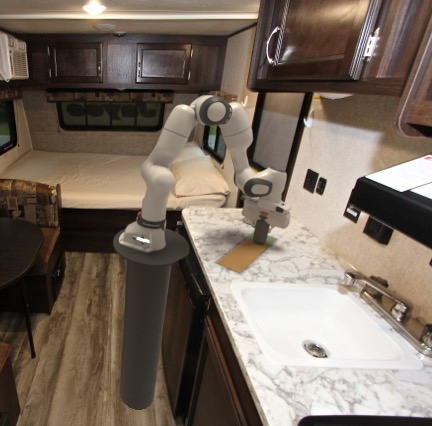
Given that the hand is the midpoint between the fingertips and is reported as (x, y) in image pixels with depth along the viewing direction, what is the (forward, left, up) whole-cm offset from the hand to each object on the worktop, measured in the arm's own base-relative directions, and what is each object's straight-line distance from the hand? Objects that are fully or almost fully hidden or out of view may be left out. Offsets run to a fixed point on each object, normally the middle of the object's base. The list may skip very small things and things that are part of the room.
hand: (261, 230), depth 137 cm
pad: (+2, +4, -7) cm, 8 cm away
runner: (-7, -14, -7) cm, 17 cm away
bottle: (0, 0, -6) cm, 6 cm away
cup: (0, +23, -7) cm, 24 cm away
